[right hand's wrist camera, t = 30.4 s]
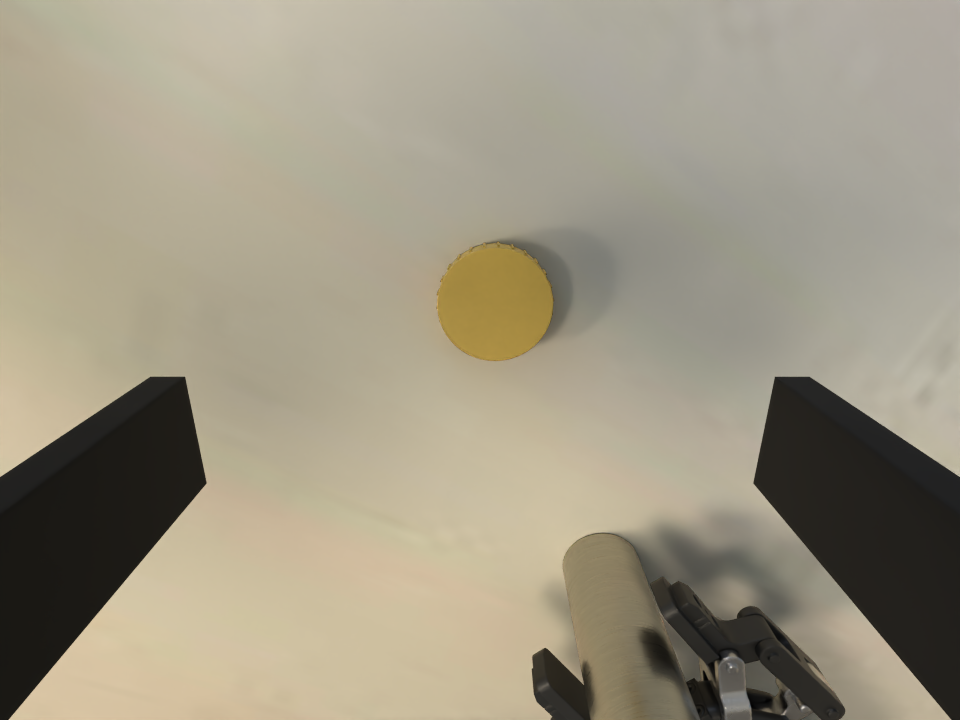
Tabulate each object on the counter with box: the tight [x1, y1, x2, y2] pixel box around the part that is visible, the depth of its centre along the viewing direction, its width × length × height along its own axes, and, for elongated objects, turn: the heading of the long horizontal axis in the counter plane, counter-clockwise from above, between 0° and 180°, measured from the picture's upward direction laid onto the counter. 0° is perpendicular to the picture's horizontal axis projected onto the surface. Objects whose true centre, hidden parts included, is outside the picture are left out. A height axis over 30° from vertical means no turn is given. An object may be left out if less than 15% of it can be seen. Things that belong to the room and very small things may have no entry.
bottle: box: [563, 533, 700, 720], centre depth 25 cm, size 4×4×17 cm
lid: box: [437, 242, 554, 361], centre depth 27 cm, size 6×6×2 cm
